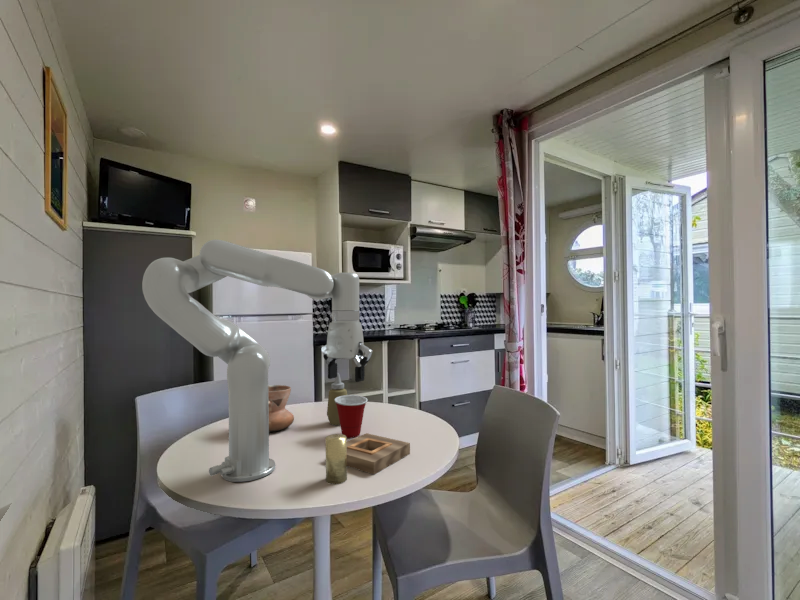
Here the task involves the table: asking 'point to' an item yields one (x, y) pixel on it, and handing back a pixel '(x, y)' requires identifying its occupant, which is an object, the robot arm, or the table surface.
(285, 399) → the ceramic jug
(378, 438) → the walnut plate
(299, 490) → the table surface
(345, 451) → the brass peg
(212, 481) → the table surface
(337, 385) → the squeeze bottle
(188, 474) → the table surface
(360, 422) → the plastic cup
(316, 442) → the table surface
